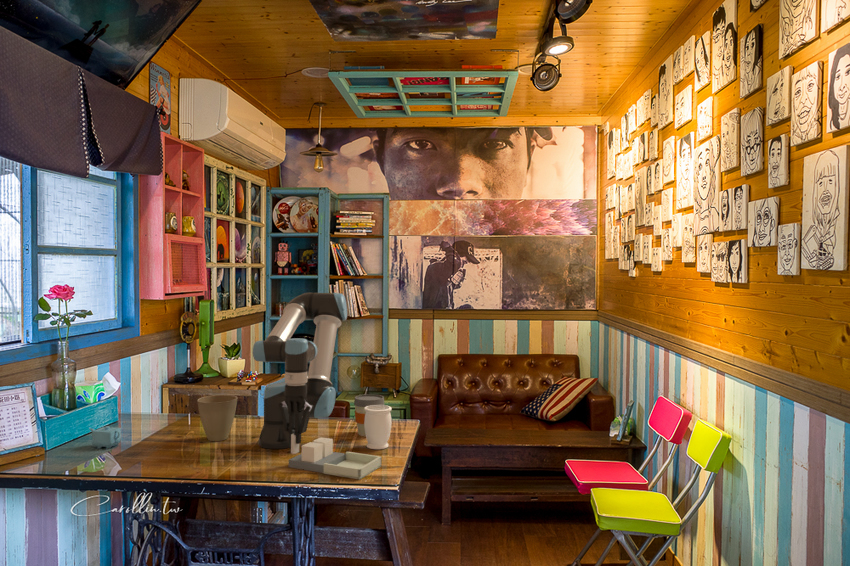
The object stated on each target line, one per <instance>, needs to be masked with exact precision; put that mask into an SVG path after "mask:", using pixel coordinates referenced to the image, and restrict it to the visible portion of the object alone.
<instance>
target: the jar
mask: <svg viewBox="0 0 850 566" xmlns="http://www.w3.org/2000/svg"><path fill="white" fill-rule="evenodd" d="M365 411H366V414H365V420H364V427H365V435H366V436H365V438H366V439H365V440H366V441H367V444H366V447H367V449H371V450H384V449H387V448H388V447H389V443H388V441H389V439H390V436H391V431H392V424H393V423H392V415H391V412H392V406H389V405H385V404H384V405H370V406H366V407H365Z"/></svg>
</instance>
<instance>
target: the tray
mask: <svg viewBox="0 0 850 566" xmlns="http://www.w3.org/2000/svg"><path fill="white" fill-rule="evenodd" d="M345 454H346V460H344V461H342V462H340V463H339V464H337V465H334V464H328V463H324V473H323V474H324V475H330V476H337V477H342V478H348V479H354V480H359V481H360V480H362V479H363V478H365V477H366V476H368V475H370V474H371V473H373V472H375V471H376V470H377V469H379V468H381V467H382V458H383V457H382V456H381V455H380V456H379V455H373V454H367V453H360V452H354V451H353V452H352V451H346V452H345Z"/></svg>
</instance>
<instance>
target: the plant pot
mask: <svg viewBox="0 0 850 566" xmlns="http://www.w3.org/2000/svg"><path fill="white" fill-rule="evenodd" d="M237 403H238V396H236V395H232V394H215V395H214V394H213V395H206V396H202V397H200V398H197V407H198V414H199V417H200V421H201V425H202V427H203V430H204V431H203V432H204V433H205V436H206V438H207V441H210V442H221V441H225V440H227V439H228V437H229V435H230V433H231V429H232V426H233V423H234V419H235V415H236V409H237Z"/></svg>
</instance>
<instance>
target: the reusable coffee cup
mask: <svg viewBox="0 0 850 566" xmlns="http://www.w3.org/2000/svg"><path fill="white" fill-rule="evenodd" d="M353 401H354V403H353V405H354V408H355V410H354V419H355V423H356V427H357V434H358V435H359V436H361V437H366V435H365V427H364V420H365V414H366V411H365V407H366V406H370V405H385V396H383V395H381V394H371V393H370V394H367V393H366V394H359V395H356V396H355V397H354V400H353Z"/></svg>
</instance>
